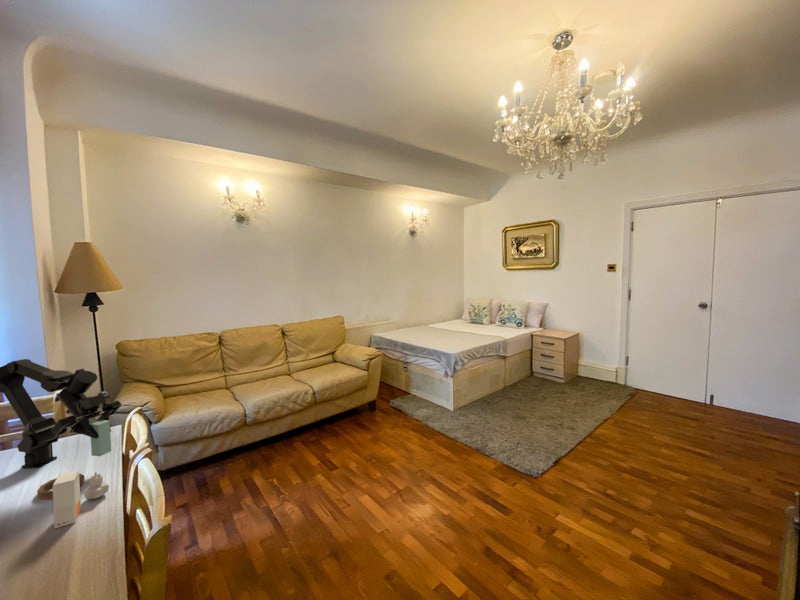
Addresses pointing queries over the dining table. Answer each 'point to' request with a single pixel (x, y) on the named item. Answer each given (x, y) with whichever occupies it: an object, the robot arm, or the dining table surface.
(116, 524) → the dining table surface
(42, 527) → the dining table surface
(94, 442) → the green rectangular block
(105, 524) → the dining table surface
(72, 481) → the skincare box
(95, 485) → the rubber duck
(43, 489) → the walnut ring
